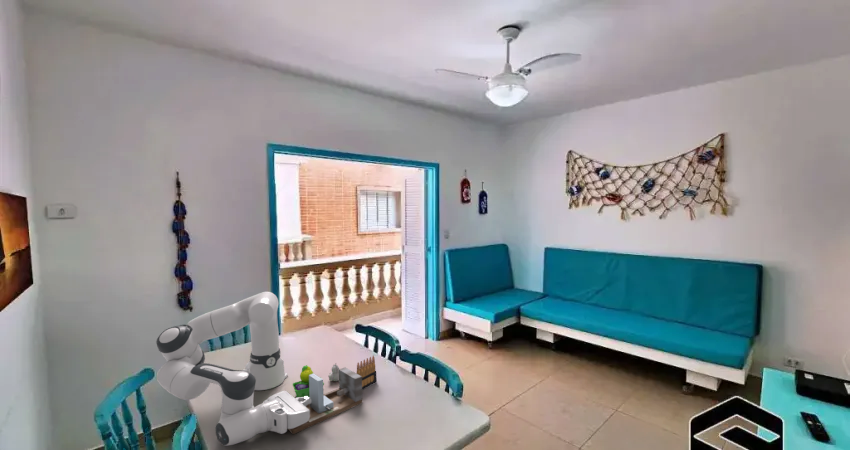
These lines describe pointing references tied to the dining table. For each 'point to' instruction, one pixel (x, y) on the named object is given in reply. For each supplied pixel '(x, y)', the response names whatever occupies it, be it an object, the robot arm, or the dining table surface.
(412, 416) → the dining table surface
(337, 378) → the grey figurine
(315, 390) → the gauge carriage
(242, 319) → the robot arm
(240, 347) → the dining table surface
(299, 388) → the fruit basket
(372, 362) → the ammunition clip
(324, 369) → the dining table surface
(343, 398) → the base
